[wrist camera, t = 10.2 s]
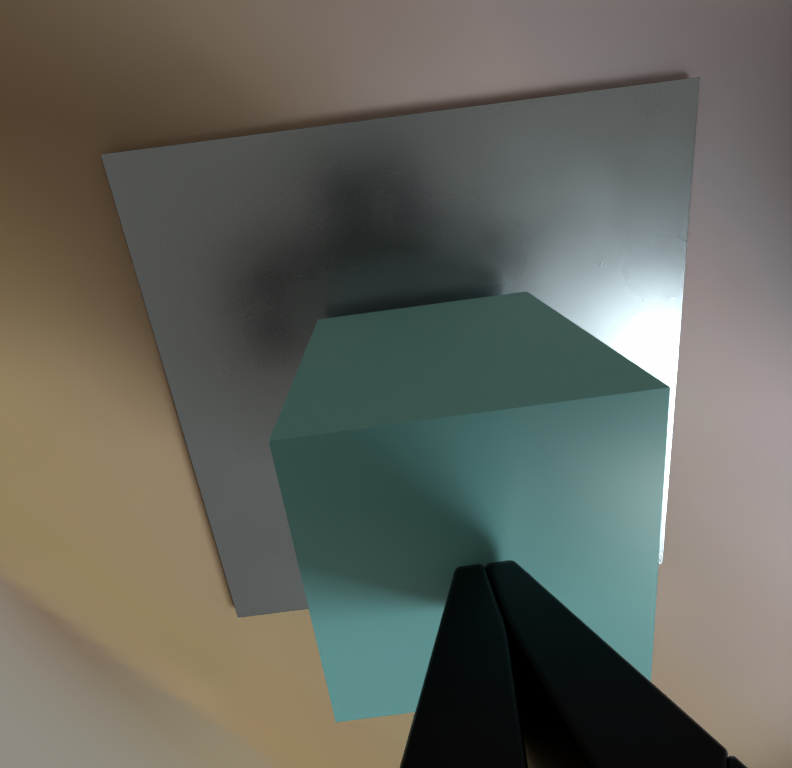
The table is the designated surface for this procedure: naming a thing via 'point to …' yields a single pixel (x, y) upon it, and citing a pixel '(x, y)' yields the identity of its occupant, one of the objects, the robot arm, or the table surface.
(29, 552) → the table surface
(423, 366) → the teal tilted cuboid
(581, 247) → the thin grey square plate
